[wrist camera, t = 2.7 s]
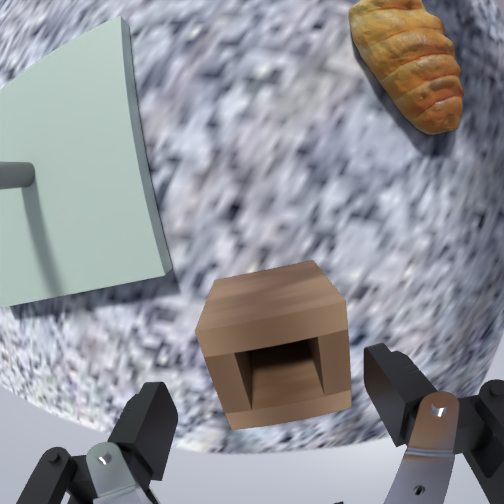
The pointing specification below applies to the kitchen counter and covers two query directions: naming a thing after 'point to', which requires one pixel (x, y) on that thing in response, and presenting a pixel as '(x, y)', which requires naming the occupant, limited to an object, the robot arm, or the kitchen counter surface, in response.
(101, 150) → the green peg base
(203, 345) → the hollow wooden cube
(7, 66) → the kitchen counter surface
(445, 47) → the pastry
